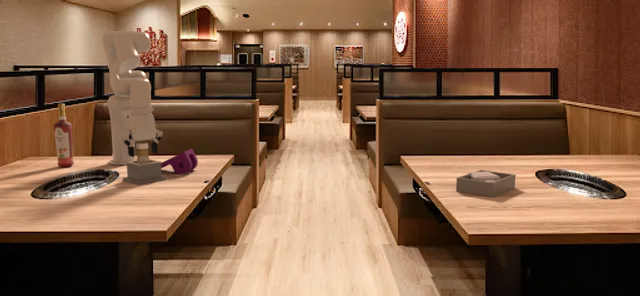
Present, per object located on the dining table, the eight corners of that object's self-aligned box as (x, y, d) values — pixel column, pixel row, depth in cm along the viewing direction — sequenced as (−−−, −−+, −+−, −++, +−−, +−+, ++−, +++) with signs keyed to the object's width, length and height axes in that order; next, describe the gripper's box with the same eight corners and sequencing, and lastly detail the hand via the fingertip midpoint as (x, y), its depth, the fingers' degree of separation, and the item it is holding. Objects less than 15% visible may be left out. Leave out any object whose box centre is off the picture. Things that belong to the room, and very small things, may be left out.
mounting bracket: (156, 187, 217) (193, 169, 214) (147, 169, 216) (184, 151, 213) (165, 182, 226) (200, 165, 223) (156, 165, 225) (192, 148, 223)
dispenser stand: (456, 191, 186) (456, 177, 185) (479, 182, 200) (480, 169, 199) (492, 197, 177) (493, 183, 176) (514, 187, 191) (515, 174, 190)
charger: (481, 193, 180) (466, 184, 195) (507, 192, 181) (490, 183, 196) (481, 179, 180) (467, 172, 195) (507, 178, 180) (490, 171, 195)
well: (122, 180, 203) (121, 161, 202) (150, 175, 212) (149, 158, 211) (138, 184, 195) (137, 165, 194) (166, 179, 204) (165, 161, 203)
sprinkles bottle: (139, 176, 205) (136, 143, 203) (151, 175, 206) (148, 142, 204) (137, 178, 201) (134, 144, 199) (149, 178, 202) (147, 144, 199)
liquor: (78, 165, 234) (73, 103, 230) (68, 168, 227) (64, 104, 223) (63, 164, 235) (58, 103, 231) (53, 167, 228) (48, 104, 224)
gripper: (156, 109, 208) (158, 151, 211) (115, 112, 196) (117, 156, 198) (166, 110, 203) (168, 153, 206) (124, 113, 191) (127, 159, 193)
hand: (143, 154), depth 202 cm, fingers open, 9 cm apart
